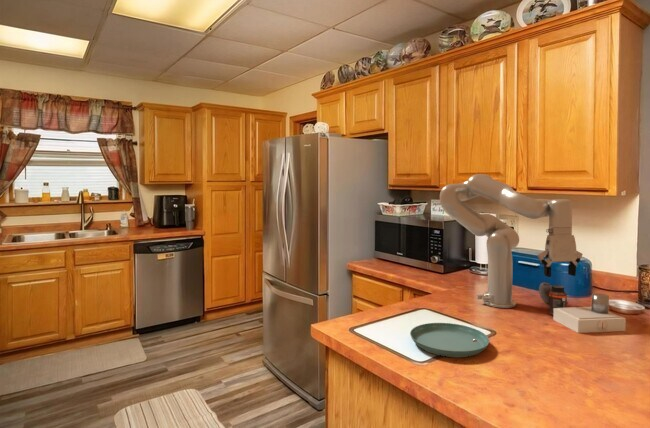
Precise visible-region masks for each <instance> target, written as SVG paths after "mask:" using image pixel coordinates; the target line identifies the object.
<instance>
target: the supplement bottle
mask: <svg viewBox="0 0 650 428" xmlns="http://www.w3.org/2000/svg"><path fill="white" fill-rule="evenodd" d="M551 286H552V290H551V291H550V292H549V304H548V314H549V315H550V316H553V312H554V308H568V307H567V300H568V297H567V296H568V294H567V292H566V291H565V286H564V285H561V284H554V285H551Z"/></svg>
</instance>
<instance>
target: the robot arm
mask: <svg viewBox="0 0 650 428" xmlns="http://www.w3.org/2000/svg"><path fill="white" fill-rule="evenodd" d="M476 197H482V198H485V199H487V200H489V201H491V202H494V203H497V204H499V205H500V206H502V207H504V208H505V209H508V210H510V211H511V212H514V213H516V214H518V215H521V216H523V217H525V218H528V219H530V220H531V219H532V220H536V219H540V218H547V217H548V228H547V229H545V232H546V233H548V234H547V235H546V240H545V246H544V251H542V252H540V253H538V254H537V258H538V260H539V262H540V263H541V264H542V265H543V275H544V276H545V277H548V278H552V266H551V265H552V264H553V262H554V263H565V262H568V263H569V264H568V266H567V267H568V269H567V274H568V275H569V276H571V277H575V276H576V275H577V266H579V265H578V263H580V261H581V260H582V257H583V253H582V252H581V251H578V250H577V244H576V237H575V235H574V234H573V202H572V200H571V199H565V198H563V199H562V198H559V199H558V198H557V199H546V198H532V197H529V196H528V195H525V194H522V193H519V192H517V190H516V191H515V190H514V189H513V188H512V186H511V185H509V184H506V183H504V182H503V181H502V182H501V181H500V180H499V181H498V180H496V179H494V178H493V177H492V176H491V175H489V174H485V173H475V174H474V175H470V177H469V178H468V180H466V181H463V182H461V183H449V184H446V185H445V186H443V187H442V188H441V190H440V193H439V203H440V206H441V209H442V210H443V211H444V212H445V213H446V214H447V215H448V216H449V217H450V218H452V219H454V220H455V221H456V222H457V223H458V224H459V225H460V226H462V227H464V228H465V229H466V230H467V231H469V232H470V233H471V234H472V235H474V236H477V237H487V239H486V252H487V291H484V293H483V294H476V295H475V296H476V297H475V298H476V299H477V300H482V301H483V304H485V305H487V306H489V307H493V308H498V309H499V308H500V309H511V308H515V307H516V306H517V302H516V301H515V300H513V267H514V266H513V265H514V264H513V262H514V261H513V255H512V254H513V253H512V250H513V249H515V248H516V247H518V245H519V243H520V236H519V233H518V232H517V231H516V230H515V229H513V228H512V227H511V226H509V225H508V224H506V223H505V222H504V221H502V220H500V219H499V218H498V217H497V216H494V215H493V214H490V213H480V212H478V211H477V210H476V209H473V208H472V206H469V205H468V204H466V203H464V202H466V201H468V200H471V199H474V198H476ZM544 258H545V259H544Z"/></svg>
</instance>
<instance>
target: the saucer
mask: <svg viewBox="0 0 650 428" xmlns="http://www.w3.org/2000/svg"><path fill="white" fill-rule="evenodd" d="M409 334H410V337H411V340H412V341H413V342H414V344H415V345H417V347H420V349H422V350H424V351H425V352H428V353H430V354H432V353H433V355H436V356H440V355H441V356H440V357H445V356H446V357H445V358H467V357H468V356H469V357H472V356H475V355H478V354H480V353H482V352H483V351H485V349H487V347H488V345H489V343H490V338H489V336H488V335H486V334H485V333H484V332H483V331H481V330H478V329H476V328H473V327H471V326H467V325H463V324H459V323H458V324H456V323H451V322H431V323H429V322H428V323H423V324H419V325H417V326H414V327H413V328H412V329H411V330H410V333H409ZM473 339H475V340H477V342H473Z"/></svg>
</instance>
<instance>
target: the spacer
mask: <svg viewBox="0 0 650 428" xmlns="http://www.w3.org/2000/svg"><path fill="white" fill-rule="evenodd" d="M609 303H610V295H608V294H606V293H600V292H599V293H598V292H594V293H591V306H590V307H591V311H593V312H596V313H602V314H607V313H608V311H609V307H610V304H609ZM609 312H610V311H609Z"/></svg>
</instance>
